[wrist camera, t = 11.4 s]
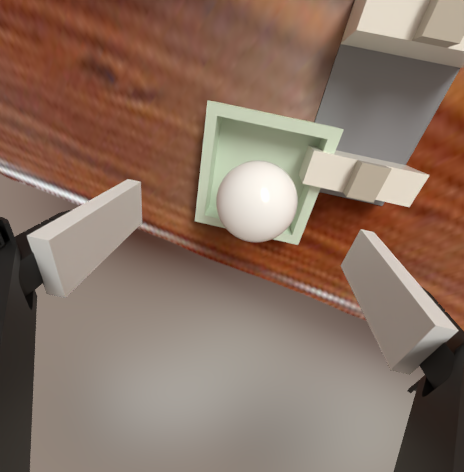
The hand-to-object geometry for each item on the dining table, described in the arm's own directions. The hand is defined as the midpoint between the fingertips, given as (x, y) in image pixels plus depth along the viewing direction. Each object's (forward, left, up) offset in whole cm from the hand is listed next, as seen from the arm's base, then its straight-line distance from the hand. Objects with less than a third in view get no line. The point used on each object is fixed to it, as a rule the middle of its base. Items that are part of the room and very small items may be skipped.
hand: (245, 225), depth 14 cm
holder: (+9, +8, -13) cm, 18 cm away
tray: (0, 0, -13) cm, 13 cm away
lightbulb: (0, 0, -13) cm, 13 cm away
